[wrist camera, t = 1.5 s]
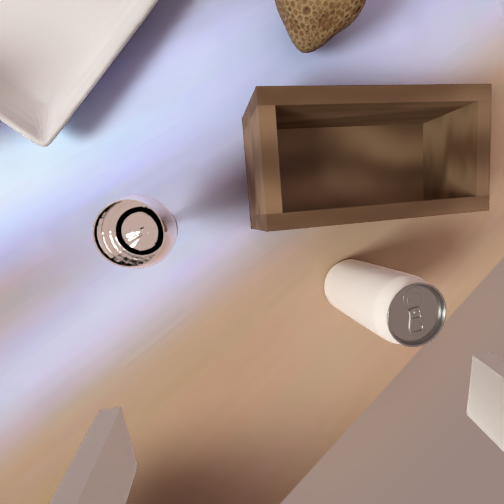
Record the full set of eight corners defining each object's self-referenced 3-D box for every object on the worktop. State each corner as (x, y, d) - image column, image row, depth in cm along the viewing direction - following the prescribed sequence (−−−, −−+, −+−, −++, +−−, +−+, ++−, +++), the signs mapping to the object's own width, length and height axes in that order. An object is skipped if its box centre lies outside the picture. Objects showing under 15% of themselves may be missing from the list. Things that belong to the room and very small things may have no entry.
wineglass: (186, 206, 32) (179, 200, 20) (177, 258, 32) (166, 281, 21) (131, 196, 31) (89, 182, 19) (122, 249, 31) (77, 268, 20)
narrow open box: (428, 212, 37) (489, 210, 30) (251, 228, 34) (267, 231, 26) (427, 113, 36) (491, 83, 28) (241, 118, 32) (256, 86, 24)
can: (367, 254, 37) (448, 270, 25) (373, 303, 37) (453, 342, 26) (319, 264, 36) (379, 286, 24) (326, 314, 36) (387, 360, 25)
